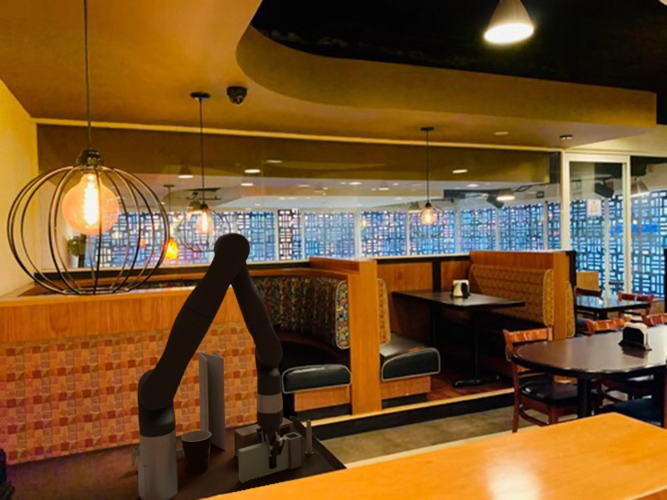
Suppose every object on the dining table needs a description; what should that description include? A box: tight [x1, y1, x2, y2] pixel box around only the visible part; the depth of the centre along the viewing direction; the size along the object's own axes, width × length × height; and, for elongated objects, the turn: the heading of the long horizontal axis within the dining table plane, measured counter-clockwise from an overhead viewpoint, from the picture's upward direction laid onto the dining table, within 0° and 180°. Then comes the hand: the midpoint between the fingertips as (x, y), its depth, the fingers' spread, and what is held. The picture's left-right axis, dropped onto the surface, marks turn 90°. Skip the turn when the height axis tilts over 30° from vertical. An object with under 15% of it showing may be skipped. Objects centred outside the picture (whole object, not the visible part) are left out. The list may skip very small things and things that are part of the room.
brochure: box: [197, 349, 227, 451], centre depth 170 cm, size 14×6×30 cm, turn 25°
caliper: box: [130, 445, 184, 467], centre depth 157 cm, size 20×1×6 cm, turn 117°
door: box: [238, 431, 304, 484], centre depth 148 cm, size 19×4×9 cm, turn 126°
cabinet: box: [233, 417, 315, 459], centre depth 160 cm, size 20×15×11 cm
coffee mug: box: [180, 430, 212, 475], centre depth 153 cm, size 12×9×10 cm
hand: (270, 466), depth 148 cm, fingers closed on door, 2 cm apart
